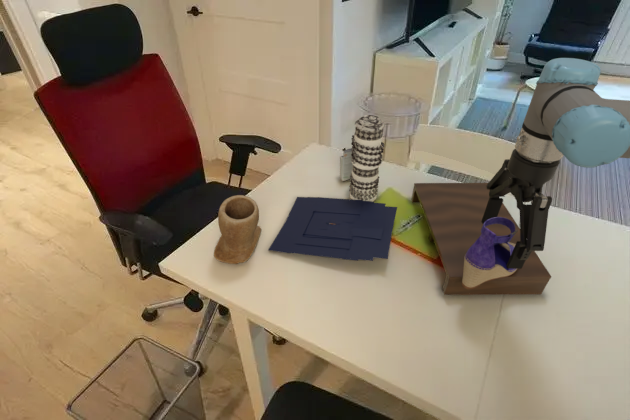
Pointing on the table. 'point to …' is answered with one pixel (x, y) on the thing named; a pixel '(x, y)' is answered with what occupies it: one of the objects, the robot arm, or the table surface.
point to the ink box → (346, 165)
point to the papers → (337, 229)
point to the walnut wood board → (471, 237)
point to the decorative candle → (366, 158)
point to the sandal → (488, 255)
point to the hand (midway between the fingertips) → (499, 243)
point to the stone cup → (237, 229)
